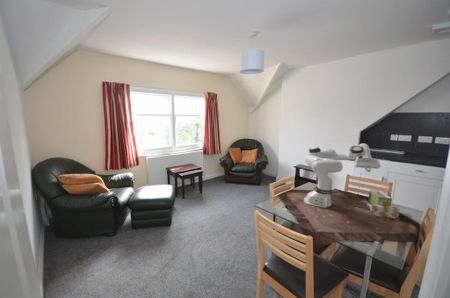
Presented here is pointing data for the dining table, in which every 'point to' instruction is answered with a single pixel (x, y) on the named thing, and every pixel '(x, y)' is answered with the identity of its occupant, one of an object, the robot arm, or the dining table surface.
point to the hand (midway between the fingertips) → (368, 171)
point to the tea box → (379, 198)
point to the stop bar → (384, 211)
